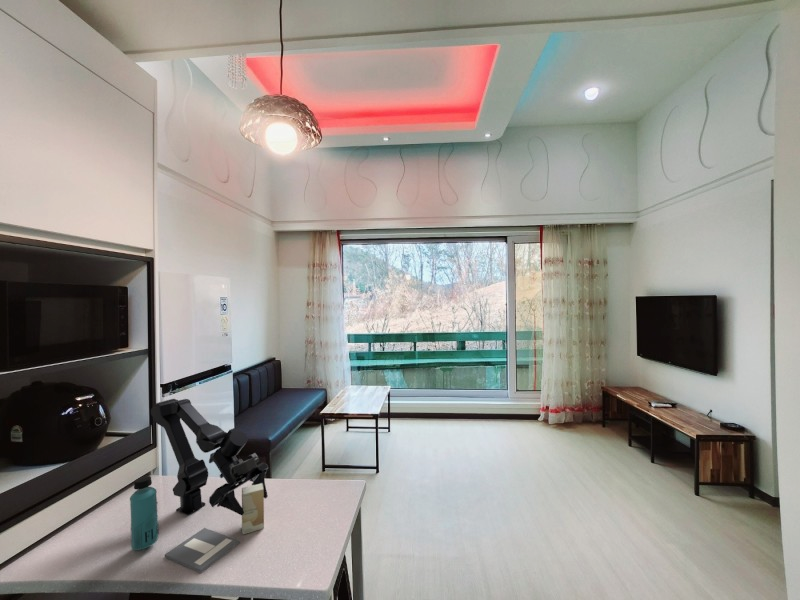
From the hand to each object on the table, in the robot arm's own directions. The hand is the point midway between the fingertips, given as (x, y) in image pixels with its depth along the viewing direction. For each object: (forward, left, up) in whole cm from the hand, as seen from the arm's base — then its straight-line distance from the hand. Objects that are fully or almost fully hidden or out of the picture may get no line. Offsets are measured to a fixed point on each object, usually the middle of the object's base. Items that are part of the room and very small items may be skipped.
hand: (255, 505), depth 106 cm
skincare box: (-1, 0, -7) cm, 7 cm away
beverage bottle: (-24, -18, -7) cm, 31 cm away
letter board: (-7, -12, -7) cm, 16 cm away
